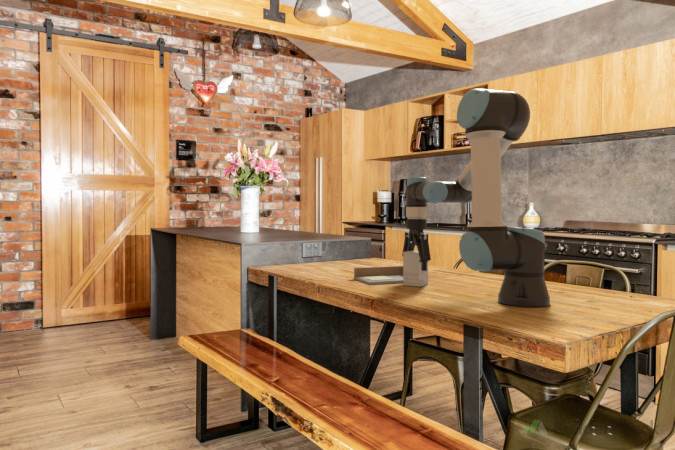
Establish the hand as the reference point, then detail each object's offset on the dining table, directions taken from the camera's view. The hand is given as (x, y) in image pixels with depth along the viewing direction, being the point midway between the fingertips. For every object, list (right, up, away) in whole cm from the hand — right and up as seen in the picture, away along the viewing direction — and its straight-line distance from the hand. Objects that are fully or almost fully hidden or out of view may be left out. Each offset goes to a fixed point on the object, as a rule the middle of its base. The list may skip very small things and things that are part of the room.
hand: (415, 277), depth 200 cm
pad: (-13, -2, +10) cm, 17 cm away
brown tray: (-10, -2, +11) cm, 15 cm away
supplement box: (0, -3, 0) cm, 3 cm away
